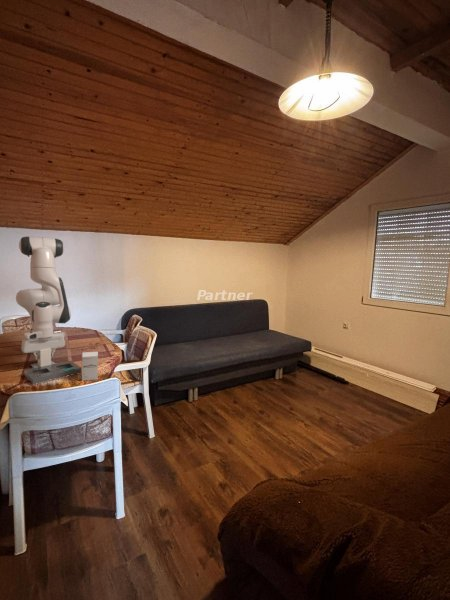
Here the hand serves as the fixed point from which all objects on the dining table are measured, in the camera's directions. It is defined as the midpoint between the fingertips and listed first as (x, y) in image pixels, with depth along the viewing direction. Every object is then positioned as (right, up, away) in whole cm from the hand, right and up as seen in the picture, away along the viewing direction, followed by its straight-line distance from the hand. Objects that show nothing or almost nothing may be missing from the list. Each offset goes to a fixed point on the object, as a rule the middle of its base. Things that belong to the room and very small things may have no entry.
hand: (44, 357), depth 161 cm
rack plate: (+10, -7, -9) cm, 15 cm away
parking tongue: (0, -5, +1) cm, 5 cm away
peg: (0, -4, 0) cm, 4 cm away
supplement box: (+29, -9, -10) cm, 32 cm away
